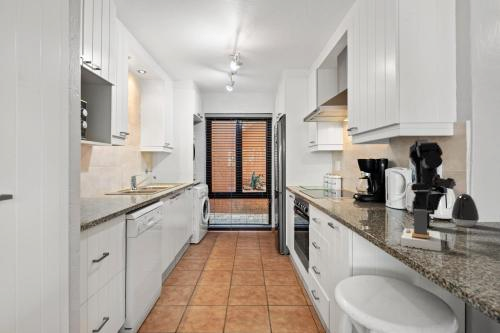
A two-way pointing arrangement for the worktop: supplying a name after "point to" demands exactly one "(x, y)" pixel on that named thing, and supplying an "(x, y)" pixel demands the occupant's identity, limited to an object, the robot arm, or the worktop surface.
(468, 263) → the worktop surface
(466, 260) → the worktop surface
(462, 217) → the black egg-shaped dome
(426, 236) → the plug
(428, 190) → the robot arm
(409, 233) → the socket block
